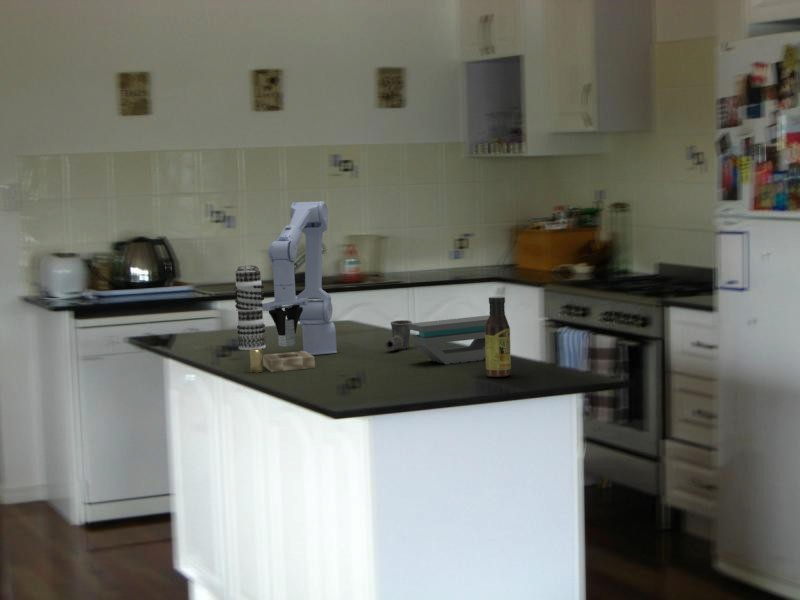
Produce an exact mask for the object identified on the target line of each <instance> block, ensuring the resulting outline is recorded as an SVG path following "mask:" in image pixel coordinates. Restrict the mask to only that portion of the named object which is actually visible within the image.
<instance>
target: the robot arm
mask: <svg viewBox="0 0 800 600" xmlns="http://www.w3.org/2000/svg"><path fill="white" fill-rule="evenodd" d="M289 216H290V222H289V224H288V225H285V226H284V227H283V228H282V229H281V232H280V234H279V236H278V238H277V239H276V240H273V242H271V243H270V244H269V246H268V258H269V262H270V268H271V269H272V273H273V274H272V275H273V291H274V294H273V295H274V300H273V301H269V302H265V303H262V306H263V310H262V312H268V314H269V316H270V318H271V319H272V320H273V323H274V325H275V329H276V330H277V331H276V332H277V335H281V336H284V335H285V321H286V319H292V320H294V331H295V335H296V334H297V333H296V332H297V328H298V323H299V324H300V325H301V327H302V328H301V329H302V345H303V347H302V349H303V350H302V349H301V350H299V352H301V351H306V352H307V353H309V354H311V355H312V356H316V355H327V354H337V353H338V351H337V350H338V349H337V333H336V332H337V330H336V326H335V323H334V322H333V321H331V320H332V316H333V304H332V297H331V295H330V294H329V293H328V292H326V290H323V288H322V287H323V286H322V284H323V283H322V280H323V279H322V278H323V277H322V276H323V233H324V232H326V231H327V230H328V225H329V209H328V206H327V203H326V202H325V200H320V201H298V202H297V201H293V202H292V204H291V205H290V209H289ZM303 233H304V235H305V258H304V259H305V260H304V261H305V265H304V267H305V268H304V271H305V272H304V277H305V278H304V289H303V290H302V291H301V292H300V293H299V294H297V296H296V279H295V278H296V277H295V261H296V260H297V256H298V247H299V244H300V242H301V240H302V238H303Z"/></svg>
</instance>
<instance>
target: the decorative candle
mask: <svg viewBox="0 0 800 600" xmlns="http://www.w3.org/2000/svg"><path fill="white" fill-rule="evenodd" d="M261 272H262V270H261V269H259V267H258V266H257V265H240V266H238V267H237V269H236V270H235V287H234V288H233V291H234V293H233V296H234V297H235V298H236V299H235V300H234V303H236V304H235V308H236V309H235V310H236V312H237V326H236V328H237V329H238V330H237V334H238V336H237V340H238V342H237V344H238V345H239V346H238V350H241V351H250V350H251V349H262V348H263V349H265V348H266V347H267V345H266V343H267V340H266V334H264V333H265V332H266V329H264V328H265V327H266V324H265V321H264V314H263V312H264V311H263V306H262V304H263V303H262V301H264V300H265V297H263V295H265V292H264V291H262V290H263V289H264V288H265V285H262V284H263V283H262V279H261ZM263 349H262V350H263Z"/></svg>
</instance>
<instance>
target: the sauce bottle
mask: <svg viewBox="0 0 800 600" xmlns="http://www.w3.org/2000/svg"><path fill="white" fill-rule="evenodd" d="M488 304H489V315H490V316H489V318H488V320H487V322H486V325H485V328H486V330H485V331H486V334H485V353H486V357H485V370H486V375H487V377H489V378H490V377H491V378H501V377H503V378H504V377H508V376H510V374H511V368H512V365H511V361H512V360H511V358H512V357H511V327H510V325H509V322H508V319H507V316H506V314H505V304H506V297H505V296H489V297H488Z"/></svg>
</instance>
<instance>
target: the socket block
mask: <svg viewBox="0 0 800 600" xmlns="http://www.w3.org/2000/svg"><path fill="white" fill-rule="evenodd" d="M300 351H301V350H300ZM300 351H291V352H279V353H267V354H262V364H263V367H264V368H266V369H267V370H268V371H269V372H271V373H273V372H285V371H293V370H294V371H297V370H305V369H306V370H307V369H316V361H315V358H316V357H315V355H311V354H309V353H307V352H306V351H301V352H300Z"/></svg>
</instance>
